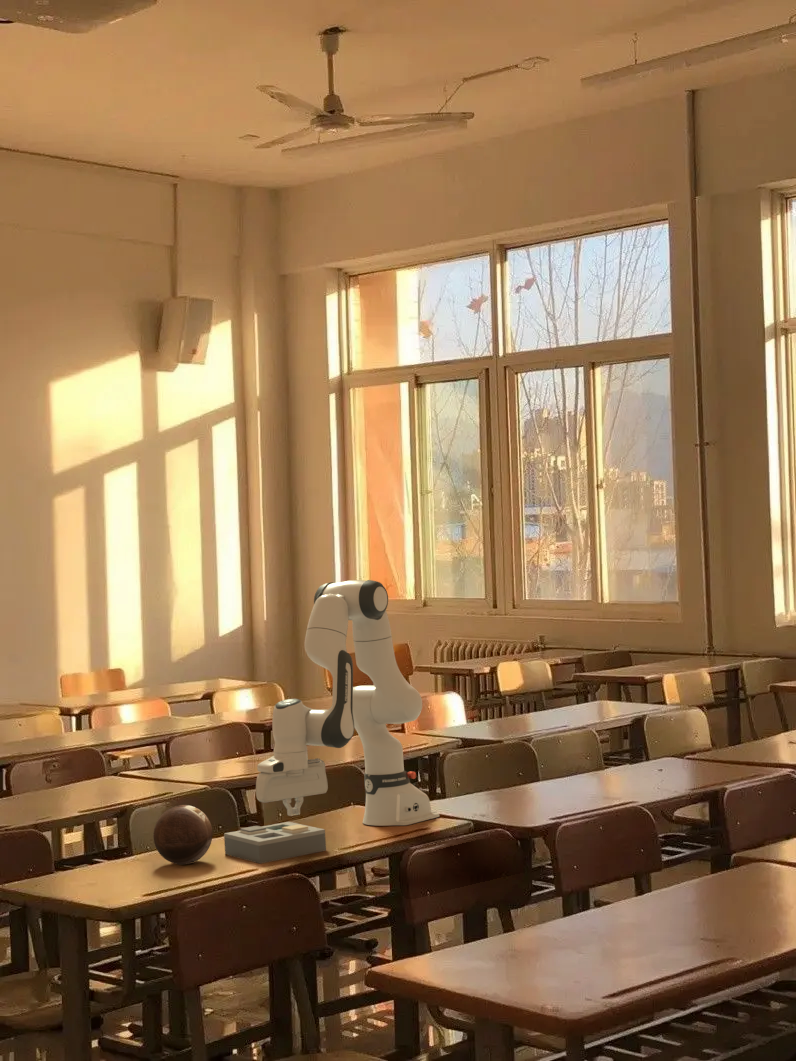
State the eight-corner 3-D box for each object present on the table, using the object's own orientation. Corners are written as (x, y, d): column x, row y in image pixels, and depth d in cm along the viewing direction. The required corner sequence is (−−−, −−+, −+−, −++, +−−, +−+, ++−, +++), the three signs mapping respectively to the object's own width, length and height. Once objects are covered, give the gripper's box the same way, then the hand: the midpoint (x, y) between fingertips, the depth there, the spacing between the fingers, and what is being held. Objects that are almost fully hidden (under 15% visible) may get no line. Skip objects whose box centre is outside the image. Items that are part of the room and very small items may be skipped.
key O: (257, 836, 397) (256, 825, 397) (266, 839, 393) (266, 827, 393) (240, 840, 394) (240, 828, 394) (250, 842, 390) (249, 830, 390)
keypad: (289, 841, 406) (288, 821, 406) (326, 850, 391) (324, 829, 391) (225, 854, 394) (224, 833, 394) (260, 863, 380) (258, 841, 380)
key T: (298, 835, 395) (298, 824, 395) (308, 838, 391) (308, 826, 391) (282, 838, 392) (281, 827, 392) (292, 841, 388) (292, 829, 388)
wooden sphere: (210, 868, 377) (207, 808, 378) (150, 871, 377) (147, 812, 378) (217, 856, 392) (213, 798, 393) (159, 859, 392) (156, 802, 392)
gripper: (317, 756, 401) (320, 808, 400) (251, 765, 389) (254, 819, 388) (330, 758, 396) (333, 810, 395) (264, 767, 384) (266, 821, 383)
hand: (293, 815), depth 392 cm, fingers closed
